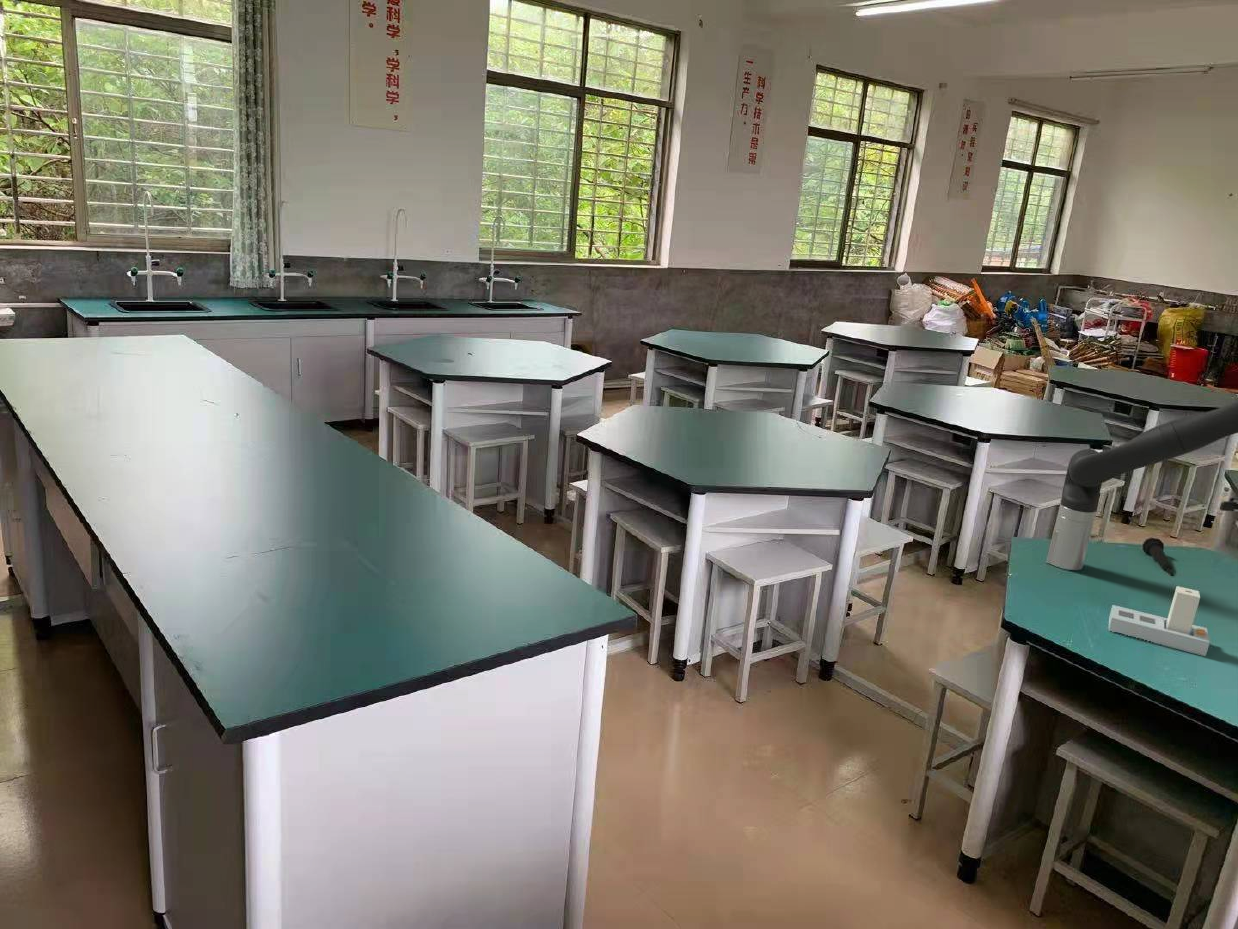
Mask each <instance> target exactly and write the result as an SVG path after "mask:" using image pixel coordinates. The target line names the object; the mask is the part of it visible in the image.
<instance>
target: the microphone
mask: <svg viewBox="0 0 1238 929" xmlns="http://www.w3.org/2000/svg"><path fill="white" fill-rule="evenodd" d="M1164 545H1165V544H1164V542H1163V541H1162V540H1161V539H1160V538H1155V537H1149V538H1146V539H1145V540H1144V541H1143V543H1142V551H1143V552H1144V553H1145V554H1146V553H1147V554H1146V555H1148V554H1150V556H1152V558H1153V560H1154V562H1156V563H1157V564H1158V565H1159V566H1160V568H1161V569H1162V570H1163V571H1165V572H1167V574H1169V575H1170V576H1173V575H1174V573H1173V567H1172V564H1171V563H1170V561H1169V559H1168V557H1167V556H1166V553H1165V552H1164V549H1165V548H1164V547H1165V546H1164Z"/></svg>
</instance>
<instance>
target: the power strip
mask: <svg viewBox="0 0 1238 929" xmlns="http://www.w3.org/2000/svg"><path fill="white" fill-rule="evenodd" d="M1167 619H1168V617H1163V616H1159V615H1156V614H1155V615H1154V614H1151V613H1146V612H1142V611H1139V610H1135V609H1131V608H1127V607H1123V606H1118V605H1114V604H1112V606H1111V609H1110V614H1109V617H1108V630H1109V631H1108V632H1110V631H1112V632H1111V633H1114V632H1119V633H1122V634H1125V635H1124V636H1126V635H1128V636H1127V637H1129V636H1134V637H1136V638H1135V639H1137V638H1141V639H1144V640H1143V641H1145V640H1147V641H1146V642H1149V641H1151V642H1150V643H1152V642H1153V644H1156V645H1160V644H1161V646H1164V647H1169V648H1172V649H1176V650H1181V651H1184V652H1188V653H1191V654H1195V655H1200V656H1203V657H1206V656H1207V653H1208V649H1209V646H1210V643H1211V642H1210V638H1209V633H1208V628H1207V627H1203V626H1199V625H1195V624H1192V628H1191V631H1190V634H1189V635H1187V634H1183V633H1179V632H1175V631H1171V630H1167V629H1165V626H1166V622H1167ZM1122 634H1121V635H1122ZM1141 639H1140V640H1141Z"/></svg>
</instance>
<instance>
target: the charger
mask: <svg viewBox="0 0 1238 929" xmlns="http://www.w3.org/2000/svg"><path fill="white" fill-rule="evenodd" d="M1174 591H1175V592H1174V594H1173V598H1172V602H1171V605H1170V609H1169V612H1168V615H1167V618H1168V619H1167V622H1166V626H1165V629H1167V630H1171V631H1175V632H1179V633H1183V634H1187V635H1189V634H1190V631H1191V628H1192V625H1194V624H1193V623H1194V620H1195V616H1196V613H1197V610H1198V607H1199V603H1200V599H1201V596H1200V591H1199V590H1196V589H1191V588H1188V587H1182V586H1179V585H1177V586H1176V588H1175V590H1174Z"/></svg>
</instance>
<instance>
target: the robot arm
mask: <svg viewBox="0 0 1238 929" xmlns="http://www.w3.org/2000/svg"><path fill="white" fill-rule="evenodd" d="M1234 434H1238V400H1236V401H1233V402H1231V403H1228V404H1226V405H1224V406H1221V407H1219V408H1215V409H1213V410H1208V411H1206V412H1205V411H1204V412H1200V413H1196V414H1192V415H1188V416H1184V417H1180V418H1177V419H1174V420H1172V421H1171V420H1170V421H1168V422H1165V423H1162V424H1160V425H1156V426H1154V427H1152V428H1149V429H1147V430H1146V431H1143V432H1142V433H1140V434H1139V435H1136V436H1135V437H1133V438H1132V439H1130V440H1128V441H1126V442H1125V443H1123V444H1120V445H1119V446H1116V447H1112V448H1109V449H1105V450H1103V451H1096V450H1095V449H1089V448H1086V449H1084V448H1083V449H1081V450H1079V451H1077V452H1075V453H1074V454H1073V455H1072V456H1071V457H1070V458H1069V459H1070V460H1069V461H1068V466H1067V470H1066V474H1065V478H1064V479H1065V480H1064V483H1063V487H1062V491H1061V492H1062V493H1061V499H1060V505H1059V509H1058V512H1057V516H1056V520H1055V524H1054V528H1053V531H1052V535H1051V536H1052V537H1051V540H1050V545H1049V550H1048V553H1047V558H1046V562H1045V563H1046V564H1049V565H1052V566H1054V567H1057V568H1060V569H1063V570H1068V571H1069V570H1070V571H1080V570H1082V569H1083V568H1084V567H1083V566H1084V564H1085V558H1086V555H1087V551H1088V547H1089V542H1090V538H1091V535H1092V532H1093V531H1092V530H1093V526H1094V523H1095V519H1096V514H1097V509H1098V507H1099V502H1100V495H1101V494H1100V493H1101V488H1102V485H1103V484H1104V483H1106V482H1108V481H1110V480H1112V479H1114V478H1117V477H1119V476H1121V475H1124V474H1126V473H1129V472H1131V471H1134V470H1137V469H1141V468H1146V467H1148V466H1153V465H1155V464H1158V463H1162V462H1164V461H1168V460H1172V459H1175V458H1177V457H1181V456H1183V455H1186V454H1189V453H1192V452H1194V451H1198V450H1200V449H1202V448H1204V447H1206V446H1209V445H1210V444H1211V445H1212V444H1213V443H1215V442H1218V441H1219V440H1221V439H1223V438H1226V437H1228V436H1229V437H1230V436H1232V435H1234ZM1219 510H1220V511H1223V512H1238V497H1230V498H1229V500H1226V501H1224V500H1223V501H1221V502H1220V506H1219Z"/></svg>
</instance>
